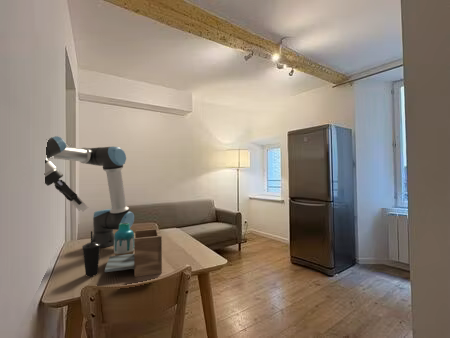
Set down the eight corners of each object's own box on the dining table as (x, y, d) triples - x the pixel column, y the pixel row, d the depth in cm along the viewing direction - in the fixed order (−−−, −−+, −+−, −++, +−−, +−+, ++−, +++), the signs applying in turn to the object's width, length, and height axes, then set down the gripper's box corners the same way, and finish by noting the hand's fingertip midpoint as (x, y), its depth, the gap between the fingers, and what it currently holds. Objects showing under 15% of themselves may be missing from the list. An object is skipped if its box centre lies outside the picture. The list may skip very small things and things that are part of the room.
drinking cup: (87, 271, 117) (87, 229, 117) (103, 270, 118) (103, 229, 118) (78, 278, 109) (78, 233, 110) (96, 277, 110) (96, 233, 110)
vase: (114, 263, 128) (114, 226, 128) (113, 257, 137) (113, 223, 137) (135, 259, 132) (135, 224, 133) (133, 254, 142) (133, 221, 142)
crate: (109, 266, 123) (109, 232, 124) (159, 260, 131) (158, 228, 131) (104, 281, 106) (104, 241, 107) (161, 272, 114) (161, 236, 114)
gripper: (41, 181, 116) (73, 213, 122) (41, 176, 96) (79, 216, 102) (56, 171, 120) (86, 203, 126) (59, 165, 100) (95, 203, 106)
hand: (83, 209), depth 114 cm, fingers open, 13 cm apart
